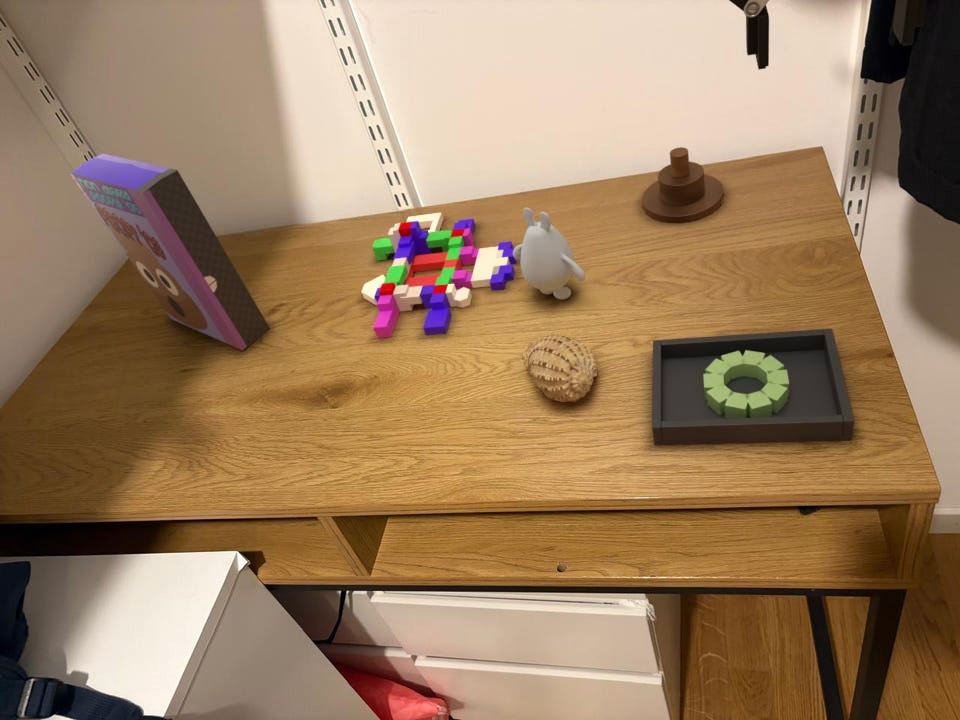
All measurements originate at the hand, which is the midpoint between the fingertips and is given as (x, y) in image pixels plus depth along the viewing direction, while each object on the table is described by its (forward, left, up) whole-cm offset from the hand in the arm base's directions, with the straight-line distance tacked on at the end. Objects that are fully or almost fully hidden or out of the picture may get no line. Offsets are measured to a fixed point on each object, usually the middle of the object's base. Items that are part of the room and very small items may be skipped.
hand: (830, 50), depth 55 cm
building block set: (+43, -16, -28) cm, 54 cm away
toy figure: (+27, -9, -28) cm, 40 cm away
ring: (+7, +9, -28) cm, 30 cm away
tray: (+7, +9, -28) cm, 30 cm away
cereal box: (+74, -9, -28) cm, 80 cm away
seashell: (+25, +5, -28) cm, 38 cm away
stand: (+12, -26, -28) cm, 40 cm away
